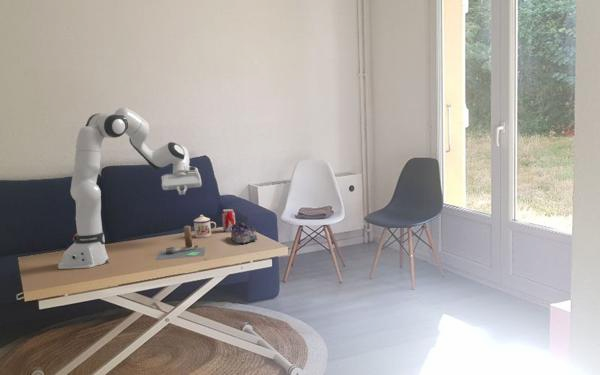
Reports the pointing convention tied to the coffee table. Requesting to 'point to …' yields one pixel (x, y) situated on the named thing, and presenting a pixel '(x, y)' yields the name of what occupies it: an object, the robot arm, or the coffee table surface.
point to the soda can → (228, 219)
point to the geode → (243, 233)
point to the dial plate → (182, 253)
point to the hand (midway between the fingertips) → (182, 194)
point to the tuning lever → (187, 241)
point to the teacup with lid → (203, 227)
